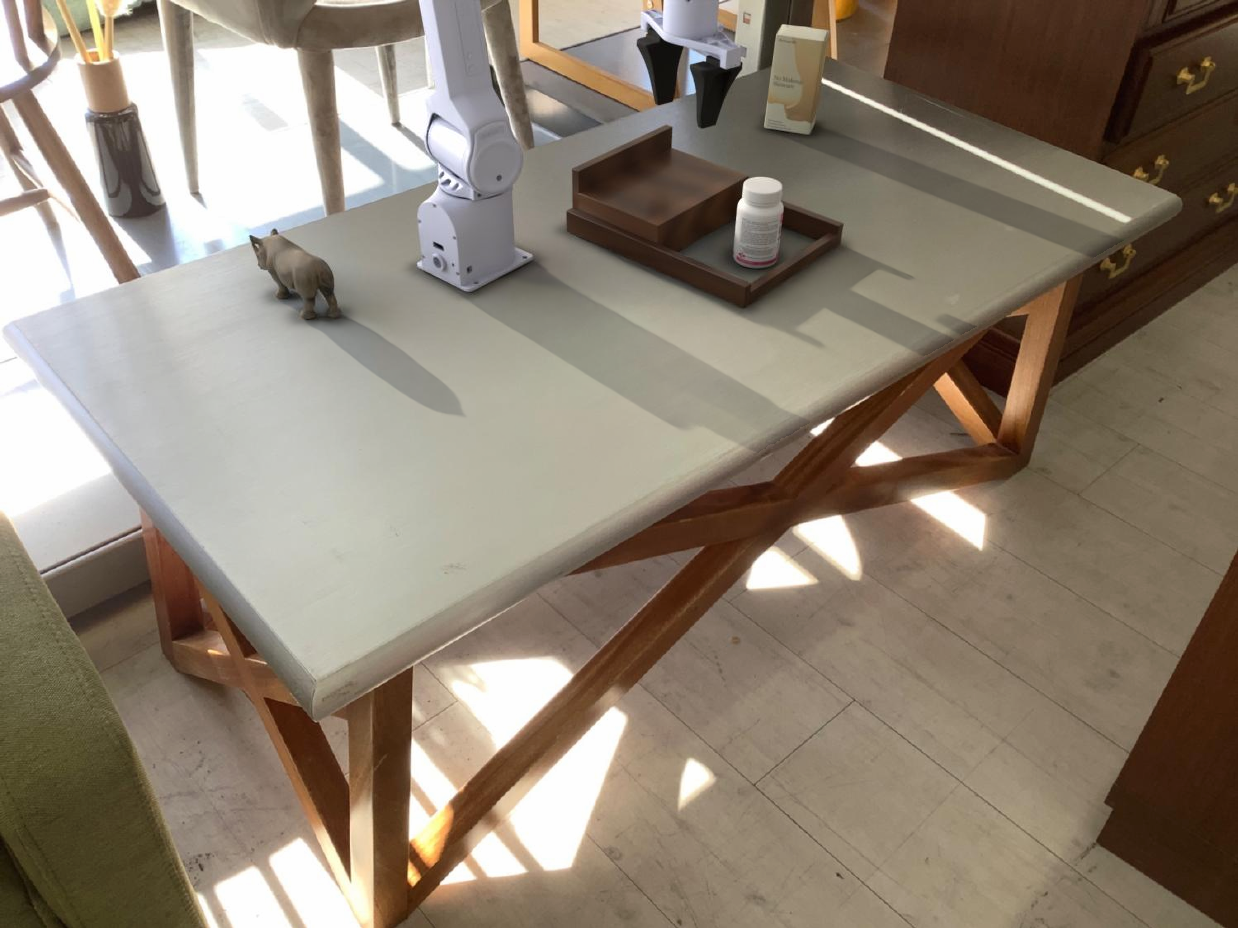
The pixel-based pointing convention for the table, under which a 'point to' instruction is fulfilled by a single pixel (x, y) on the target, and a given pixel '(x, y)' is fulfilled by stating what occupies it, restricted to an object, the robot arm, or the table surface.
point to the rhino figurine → (296, 272)
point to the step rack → (678, 214)
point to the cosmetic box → (796, 78)
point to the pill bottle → (758, 223)
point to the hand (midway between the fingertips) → (685, 114)
